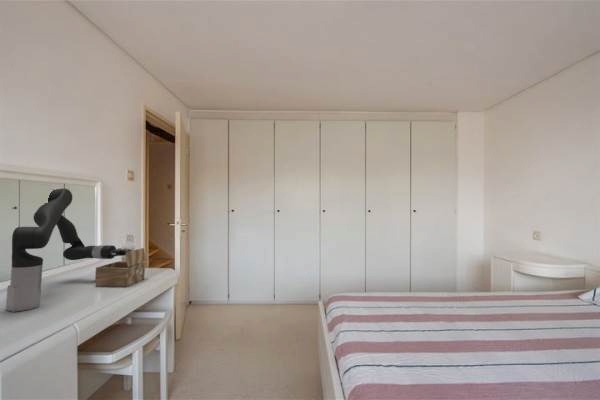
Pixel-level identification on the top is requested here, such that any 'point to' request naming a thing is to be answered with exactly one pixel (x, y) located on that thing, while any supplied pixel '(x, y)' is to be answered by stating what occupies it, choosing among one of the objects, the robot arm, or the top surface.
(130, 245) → the water bottle
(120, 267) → the wooden box
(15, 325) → the top surface
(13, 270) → the robot arm
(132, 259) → the near flap
